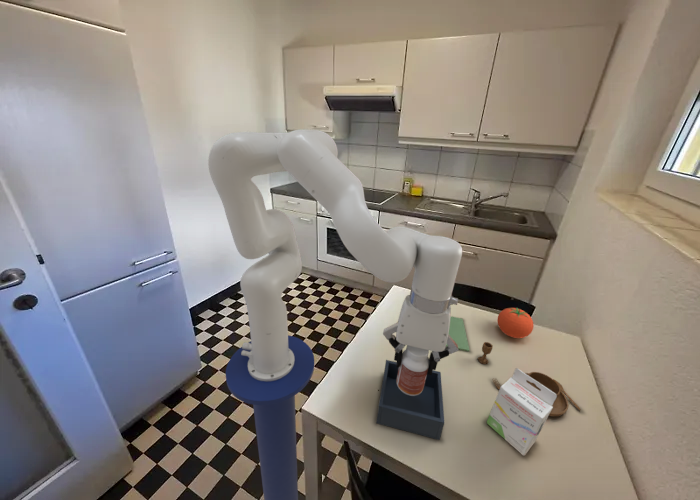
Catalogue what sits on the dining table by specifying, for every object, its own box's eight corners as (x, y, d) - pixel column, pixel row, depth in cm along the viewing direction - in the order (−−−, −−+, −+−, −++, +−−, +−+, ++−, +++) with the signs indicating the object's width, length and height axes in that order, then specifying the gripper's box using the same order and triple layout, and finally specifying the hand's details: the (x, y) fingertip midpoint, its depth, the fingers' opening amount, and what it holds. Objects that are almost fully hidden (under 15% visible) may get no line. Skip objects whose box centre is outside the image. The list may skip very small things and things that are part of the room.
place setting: (522, 423, 64) (530, 405, 61) (474, 357, 82) (478, 341, 79) (587, 415, 66) (597, 397, 64) (526, 353, 84) (532, 338, 82)
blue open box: (376, 423, 62) (378, 406, 59) (383, 375, 74) (386, 359, 72) (439, 440, 59) (444, 422, 57) (436, 387, 71) (440, 371, 69)
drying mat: (408, 339, 87) (409, 338, 87) (410, 310, 102) (410, 309, 101) (469, 351, 84) (469, 350, 83) (462, 319, 98) (462, 318, 98)
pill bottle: (427, 395, 62) (438, 357, 58) (402, 399, 61) (410, 361, 56) (415, 372, 68) (424, 337, 63) (392, 376, 66) (399, 339, 62)
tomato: (526, 330, 95) (536, 305, 91) (530, 349, 86) (540, 323, 82) (493, 320, 99) (501, 296, 95) (494, 338, 90) (502, 312, 86)
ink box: (484, 423, 63) (502, 375, 57) (496, 412, 66) (514, 365, 60) (524, 457, 57) (549, 407, 51) (535, 444, 59) (560, 395, 54)
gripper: (472, 297, 56) (452, 363, 64) (387, 281, 60) (377, 345, 67) (479, 319, 50) (455, 390, 57) (383, 300, 53) (372, 369, 60)
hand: (413, 365), depth 62 cm, fingers closed on pill bottle, 6 cm apart
